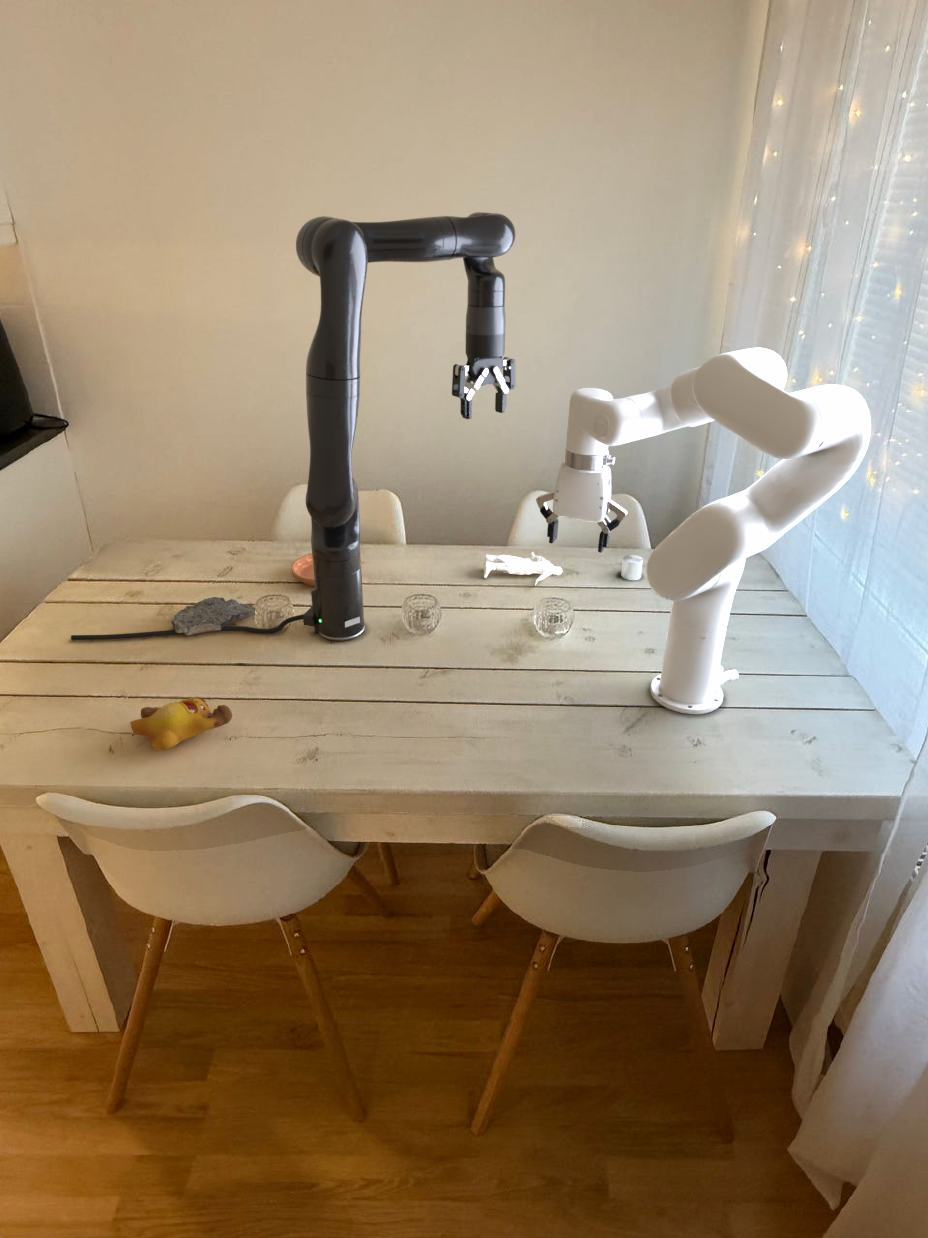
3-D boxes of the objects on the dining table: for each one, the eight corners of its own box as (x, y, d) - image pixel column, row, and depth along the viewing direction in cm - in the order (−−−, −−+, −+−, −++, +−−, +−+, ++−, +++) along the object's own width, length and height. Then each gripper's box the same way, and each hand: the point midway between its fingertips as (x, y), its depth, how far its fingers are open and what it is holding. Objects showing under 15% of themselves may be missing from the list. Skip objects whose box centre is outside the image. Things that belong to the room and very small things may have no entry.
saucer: (304, 559, 195) (303, 548, 194) (369, 564, 193) (368, 552, 192) (281, 589, 181) (280, 576, 180) (351, 594, 179) (351, 581, 178)
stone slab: (156, 626, 166) (154, 613, 164) (223, 596, 177) (221, 584, 176) (194, 646, 159) (192, 633, 158) (261, 614, 171) (259, 601, 169)
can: (620, 579, 188) (622, 561, 186) (622, 571, 192) (624, 553, 190) (640, 581, 187) (642, 563, 185) (641, 573, 191) (643, 556, 189)
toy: (124, 709, 134) (215, 682, 140) (135, 746, 135) (224, 717, 142) (132, 722, 124) (229, 692, 131) (144, 761, 125) (239, 730, 132)
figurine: (483, 589, 181) (563, 599, 182) (486, 568, 179) (567, 578, 180) (482, 559, 197) (556, 568, 198) (485, 539, 194) (560, 548, 195)
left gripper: (468, 336, 148) (467, 424, 156) (526, 329, 156) (522, 413, 164) (443, 330, 153) (443, 416, 161) (501, 323, 161) (498, 406, 169)
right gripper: (637, 460, 148) (625, 546, 157) (546, 446, 154) (540, 530, 162) (627, 472, 142) (616, 561, 151) (533, 458, 148) (528, 544, 156)
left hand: (483, 415), depth 162 cm, fingers open, 8 cm apart
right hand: (577, 545), depth 156 cm, fingers open, 9 cm apart
